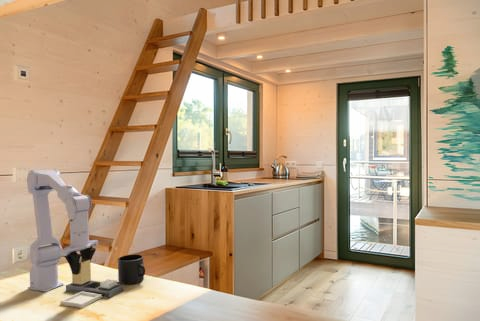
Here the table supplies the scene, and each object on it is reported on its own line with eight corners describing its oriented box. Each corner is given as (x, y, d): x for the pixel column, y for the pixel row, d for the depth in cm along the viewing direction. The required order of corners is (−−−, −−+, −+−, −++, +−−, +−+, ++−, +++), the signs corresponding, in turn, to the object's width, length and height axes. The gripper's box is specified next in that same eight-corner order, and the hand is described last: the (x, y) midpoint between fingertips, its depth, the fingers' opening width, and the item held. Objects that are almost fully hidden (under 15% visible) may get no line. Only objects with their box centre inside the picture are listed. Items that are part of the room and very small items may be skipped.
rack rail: (65, 290, 132) (65, 280, 132) (81, 284, 139) (81, 273, 139) (109, 297, 125) (109, 286, 125) (123, 290, 132) (123, 279, 131)
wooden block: (72, 282, 121) (71, 261, 121) (81, 278, 125) (81, 258, 125) (81, 284, 120) (81, 262, 120) (90, 280, 123) (90, 259, 123)
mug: (136, 287, 134) (135, 263, 134) (113, 282, 140) (112, 259, 140) (153, 279, 143) (153, 256, 142) (131, 275, 148) (130, 253, 148)
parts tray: (60, 304, 120) (60, 301, 120) (81, 294, 128) (81, 291, 128) (81, 308, 117) (81, 304, 117) (101, 297, 125) (101, 294, 125)
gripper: (71, 237, 114) (72, 280, 114) (104, 228, 127) (105, 266, 128) (54, 235, 117) (55, 277, 117) (89, 227, 130) (90, 264, 130)
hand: (80, 272), depth 122 cm, fingers closed on wooden block, 4 cm apart
